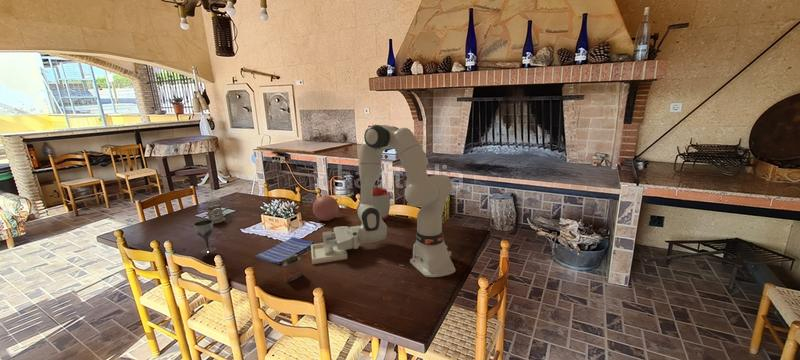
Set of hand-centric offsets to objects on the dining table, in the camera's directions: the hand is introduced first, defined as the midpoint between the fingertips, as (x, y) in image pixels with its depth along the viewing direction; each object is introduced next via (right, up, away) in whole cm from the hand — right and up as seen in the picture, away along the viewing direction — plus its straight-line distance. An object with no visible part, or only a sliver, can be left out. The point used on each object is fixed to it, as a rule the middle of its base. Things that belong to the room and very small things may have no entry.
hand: (325, 239), depth 160 cm
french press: (-79, +3, +50) cm, 93 cm away
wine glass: (-61, -7, +9) cm, 62 cm away
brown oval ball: (-8, +4, +48) cm, 49 cm away
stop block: (+1, -7, +2) cm, 7 cm away
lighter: (-10, -13, -18) cm, 24 cm away
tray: (+1, -7, +2) cm, 8 cm away
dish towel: (-21, -8, +6) cm, 23 cm away
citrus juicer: (+23, +5, +47) cm, 53 cm away
